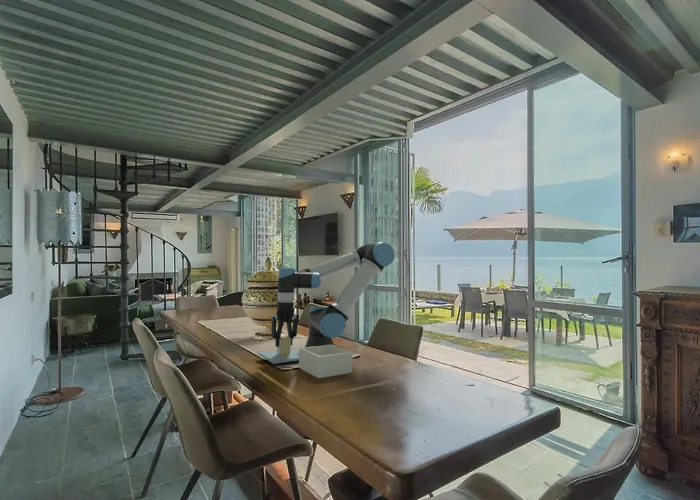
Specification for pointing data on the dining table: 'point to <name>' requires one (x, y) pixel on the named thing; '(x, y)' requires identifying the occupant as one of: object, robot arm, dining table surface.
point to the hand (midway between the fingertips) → (283, 353)
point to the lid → (285, 353)
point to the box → (325, 360)
